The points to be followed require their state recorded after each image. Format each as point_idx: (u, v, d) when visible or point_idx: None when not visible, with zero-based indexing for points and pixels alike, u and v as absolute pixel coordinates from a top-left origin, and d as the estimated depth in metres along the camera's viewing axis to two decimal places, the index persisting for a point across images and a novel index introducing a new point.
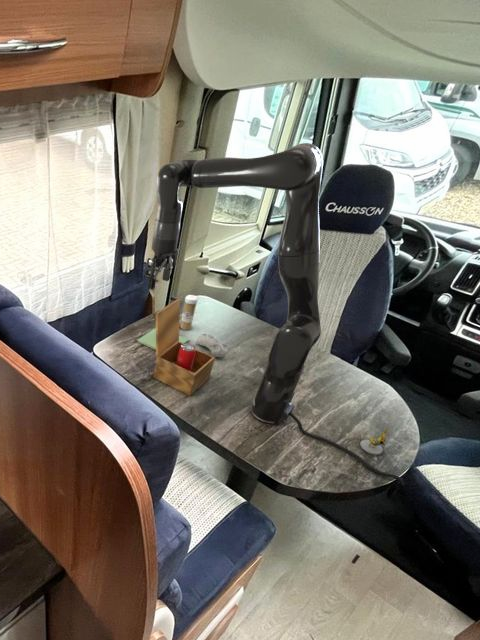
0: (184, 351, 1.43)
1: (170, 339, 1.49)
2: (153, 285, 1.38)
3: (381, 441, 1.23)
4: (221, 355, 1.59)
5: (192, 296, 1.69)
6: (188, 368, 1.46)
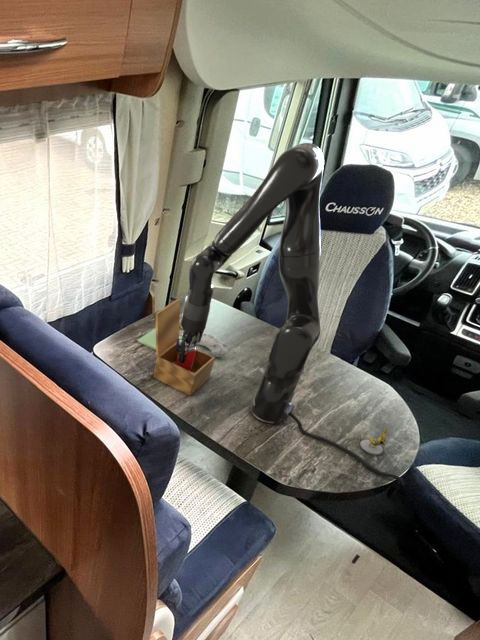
0: None
1: (170, 339, 1.49)
2: (183, 360, 1.43)
3: (381, 441, 1.23)
4: (221, 355, 1.59)
5: None
6: (188, 368, 1.46)
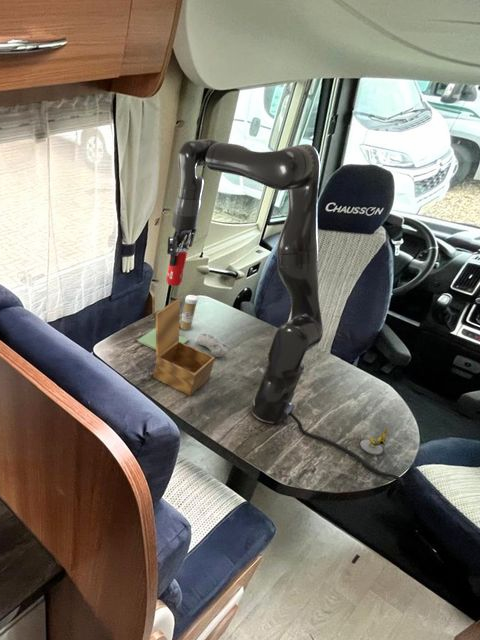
0: None
1: (170, 339, 1.49)
2: (175, 262, 1.46)
3: (381, 441, 1.23)
4: (221, 355, 1.59)
5: (192, 296, 1.69)
6: (179, 272, 1.49)
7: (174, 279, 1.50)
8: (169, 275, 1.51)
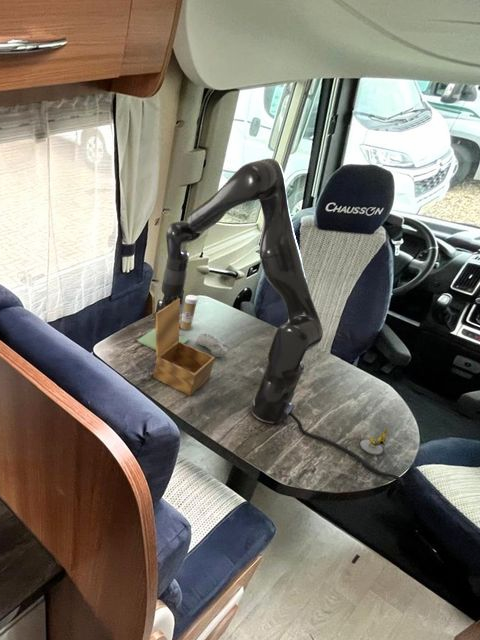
0: None
1: (170, 339, 1.49)
2: None
3: (381, 441, 1.23)
4: (221, 355, 1.59)
5: (192, 296, 1.69)
6: None
7: None
8: None
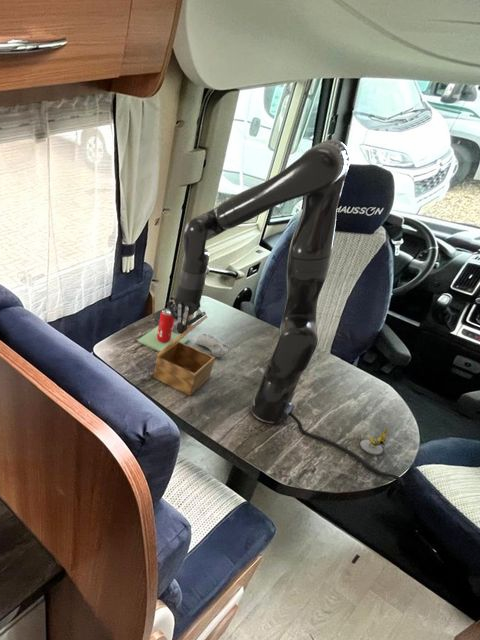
0: (164, 315, 1.60)
1: None
2: (178, 328, 1.42)
3: (381, 441, 1.23)
4: (221, 355, 1.59)
5: None
6: (168, 331, 1.63)
7: (163, 337, 1.65)
8: (159, 333, 1.65)
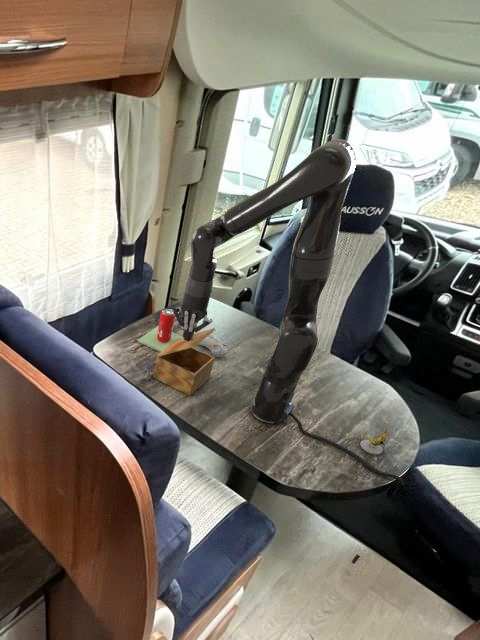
0: (164, 315, 1.60)
1: None
2: (184, 335, 1.41)
3: (381, 441, 1.23)
4: (221, 355, 1.59)
5: None
6: (168, 331, 1.63)
7: (163, 337, 1.65)
8: (159, 333, 1.65)
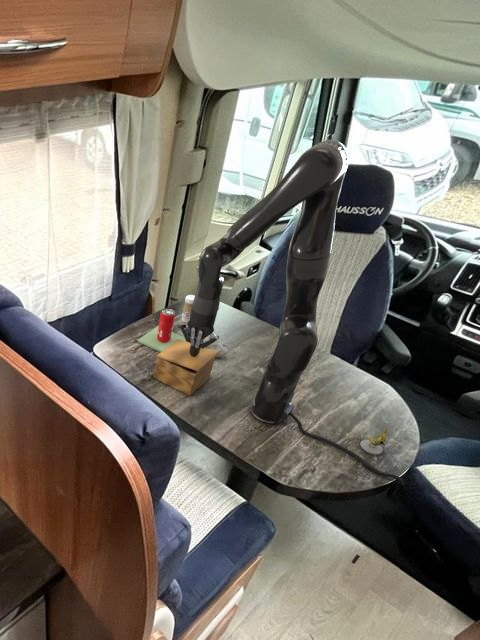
0: (164, 315, 1.60)
1: None
2: (191, 351, 1.43)
3: (381, 441, 1.23)
4: (221, 355, 1.59)
5: (192, 296, 1.69)
6: (168, 331, 1.63)
7: (163, 337, 1.65)
8: (159, 333, 1.65)
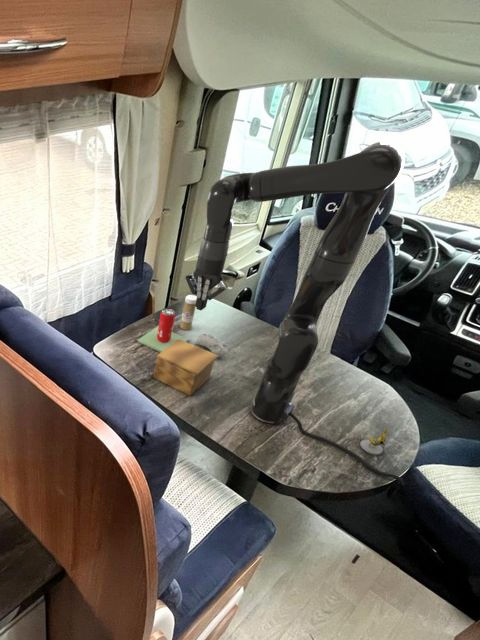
0: (164, 315, 1.60)
1: None
2: (197, 304, 1.33)
3: (381, 441, 1.23)
4: (221, 355, 1.59)
5: (192, 296, 1.69)
6: (168, 331, 1.63)
7: (163, 337, 1.65)
8: (159, 333, 1.65)
